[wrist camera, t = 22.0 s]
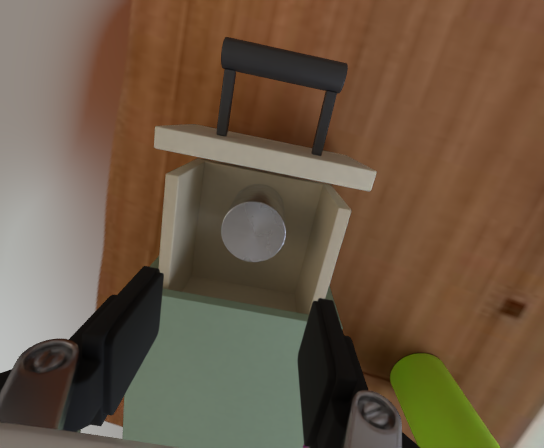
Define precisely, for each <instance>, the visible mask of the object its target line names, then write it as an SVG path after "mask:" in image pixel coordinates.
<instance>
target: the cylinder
mask: <svg viewBox="0 0 544 448" xmlns="http://www.w3.org/2000/svg"><path fill="white" fill-rule="evenodd" d="M221 237H222V240H223V243H224V245H225V247H226V248H227V250H228V251H229V252H230V253H231V254H232V255H234V256H235V257H237V258H239V259H241V260H243V261H247V262H261V261H265V260H268V259H270V258H272V257H273V256H274V255H276V254H277V253H278V252H279V250H280V249H281V248H282V246H283V244H284V241H285V237H286V226H285V212H284V203H283V200H282V198H281V196H280V195H279V193H278V192H277V191H276V190H274V189H273V188H271V187H270V186H267V185H264V184H252V185H249V186H246V187H245V188H243V189H242V190H241V191H240V192H239V193H238V194H237V195H236V197H235V199H234V201H233V203H232V204H231V206H230V208H229V210H228V212H227V214H226V215H225V217H224V219H223V222H222V225H221Z"/></svg>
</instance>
